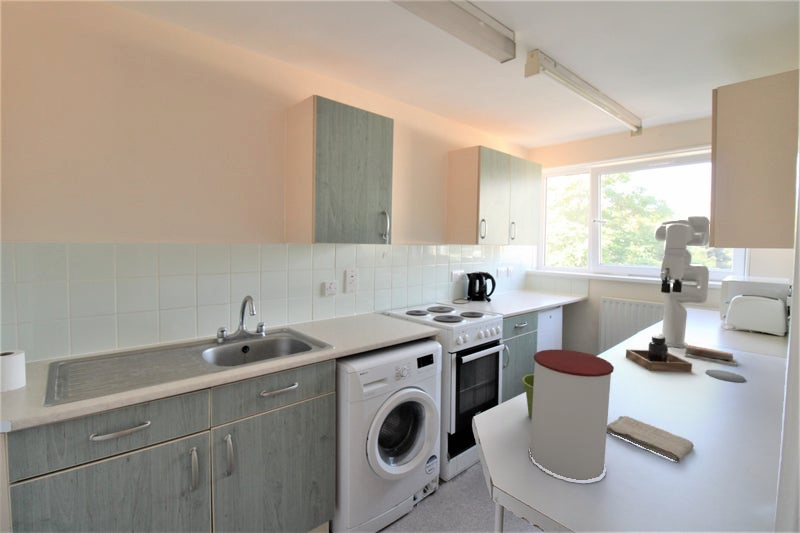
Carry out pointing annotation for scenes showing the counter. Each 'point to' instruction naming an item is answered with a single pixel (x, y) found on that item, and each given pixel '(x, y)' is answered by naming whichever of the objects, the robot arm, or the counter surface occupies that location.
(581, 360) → the container
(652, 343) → the supplement bottle
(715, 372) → the mat
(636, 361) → the bin
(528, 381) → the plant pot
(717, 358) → the packaged product
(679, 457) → the washcloth
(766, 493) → the counter surface
